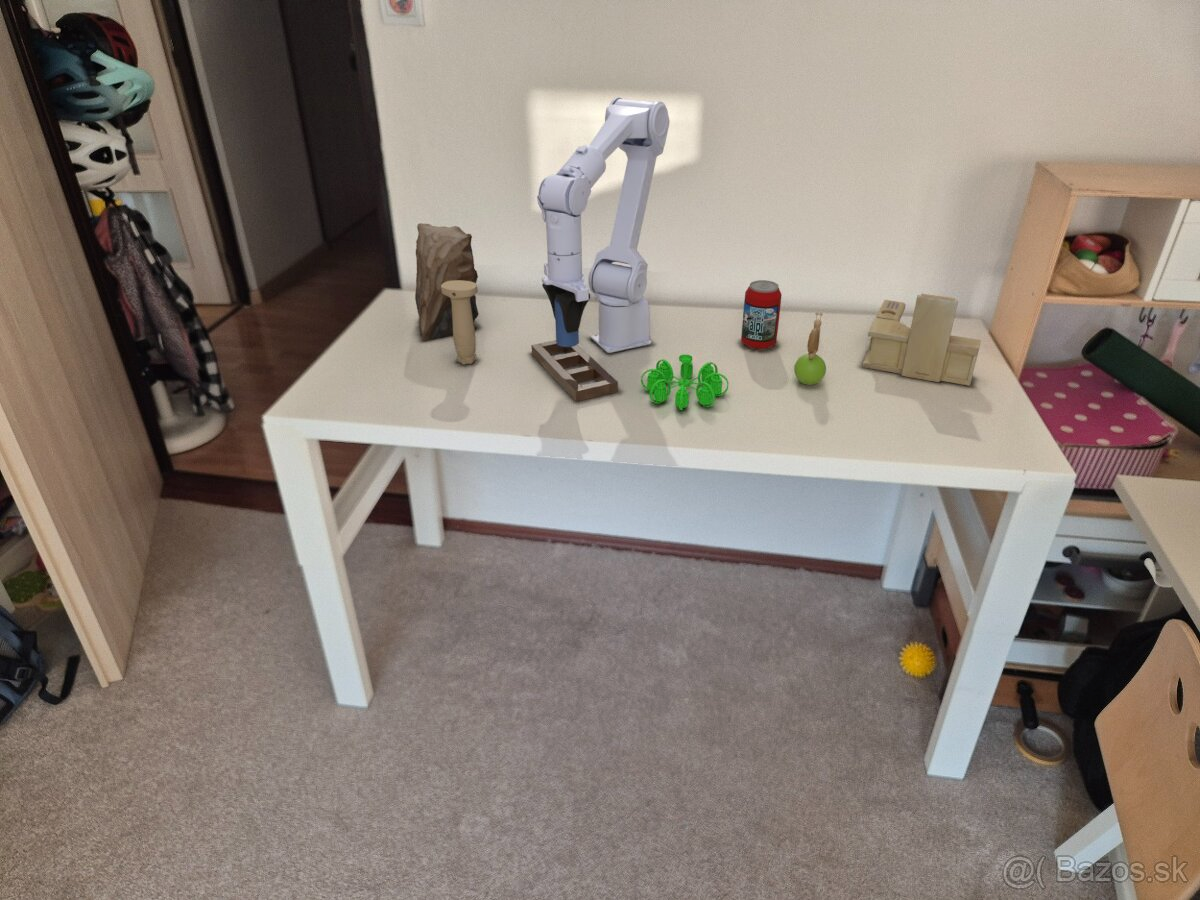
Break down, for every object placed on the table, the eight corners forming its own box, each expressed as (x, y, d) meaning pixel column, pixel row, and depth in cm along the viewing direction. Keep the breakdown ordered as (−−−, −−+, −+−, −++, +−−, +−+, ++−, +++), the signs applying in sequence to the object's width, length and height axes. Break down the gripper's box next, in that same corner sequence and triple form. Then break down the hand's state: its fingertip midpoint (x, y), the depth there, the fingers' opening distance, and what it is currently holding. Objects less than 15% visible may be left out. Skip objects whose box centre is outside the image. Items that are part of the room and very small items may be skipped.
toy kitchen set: (977, 350, 158) (996, 274, 150) (969, 388, 146) (989, 307, 138) (877, 334, 165) (890, 260, 157) (861, 368, 152) (874, 290, 144)
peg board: (570, 346, 162) (570, 337, 161) (618, 392, 146) (618, 381, 145) (531, 354, 159) (531, 344, 158) (576, 401, 143) (575, 391, 142)
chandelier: (645, 371, 152) (646, 336, 149) (728, 376, 150) (731, 341, 147) (635, 411, 140) (636, 374, 136) (725, 417, 138) (729, 380, 134)
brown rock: (417, 316, 175) (405, 222, 164) (478, 311, 177) (469, 217, 166) (420, 341, 164) (406, 242, 154) (484, 335, 167) (475, 236, 156)
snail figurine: (826, 376, 150) (835, 313, 144) (822, 392, 145) (831, 328, 139) (795, 371, 152) (803, 309, 145) (790, 387, 147) (798, 324, 140)
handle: (477, 369, 154) (470, 292, 146) (445, 365, 156) (436, 288, 148) (487, 358, 158) (481, 282, 150) (456, 354, 159) (448, 279, 151)
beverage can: (736, 348, 160) (741, 289, 154) (745, 334, 166) (750, 277, 159) (771, 354, 158) (778, 294, 152) (779, 340, 163) (785, 281, 157)
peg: (573, 336, 149) (572, 293, 145) (582, 344, 146) (581, 301, 142) (552, 340, 148) (550, 297, 144) (561, 349, 145) (559, 305, 141)
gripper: (526, 241, 142) (530, 315, 150) (559, 267, 131) (562, 346, 138) (564, 235, 145) (566, 308, 152) (599, 260, 134) (600, 338, 141)
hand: (567, 326), depth 145 cm, fingers closed on peg, 4 cm apart
